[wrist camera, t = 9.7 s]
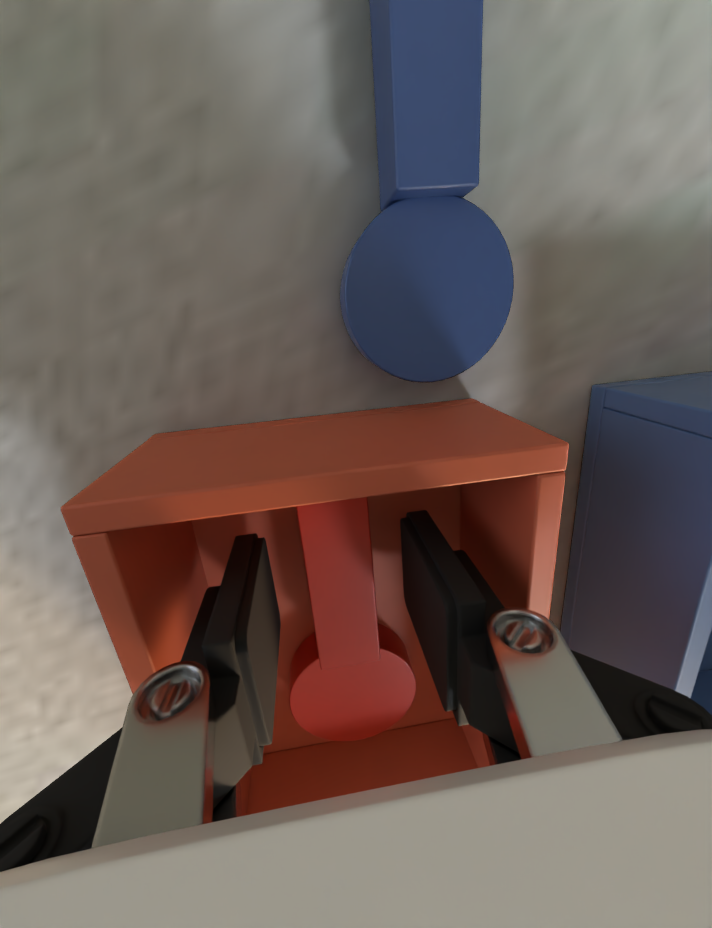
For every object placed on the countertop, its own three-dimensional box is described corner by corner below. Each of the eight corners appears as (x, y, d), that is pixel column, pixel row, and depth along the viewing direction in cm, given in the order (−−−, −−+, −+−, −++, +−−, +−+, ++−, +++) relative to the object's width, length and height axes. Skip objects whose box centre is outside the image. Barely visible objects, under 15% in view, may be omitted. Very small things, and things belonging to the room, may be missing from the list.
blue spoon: (299, -146, 7) (298, -280, 6) (507, -142, 8) (563, -268, 6) (347, 383, 11) (355, 395, 9) (489, 368, 11) (521, 377, 10)
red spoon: (250, 464, 11) (241, 490, 9) (397, 446, 11) (414, 468, 10) (298, 718, 14) (298, 770, 13) (409, 698, 15) (423, 746, 13)
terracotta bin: (154, 433, 11) (56, 507, 7) (472, 397, 12) (571, 442, 7) (242, 752, 16) (220, 916, 11) (465, 710, 16) (523, 848, 12)
